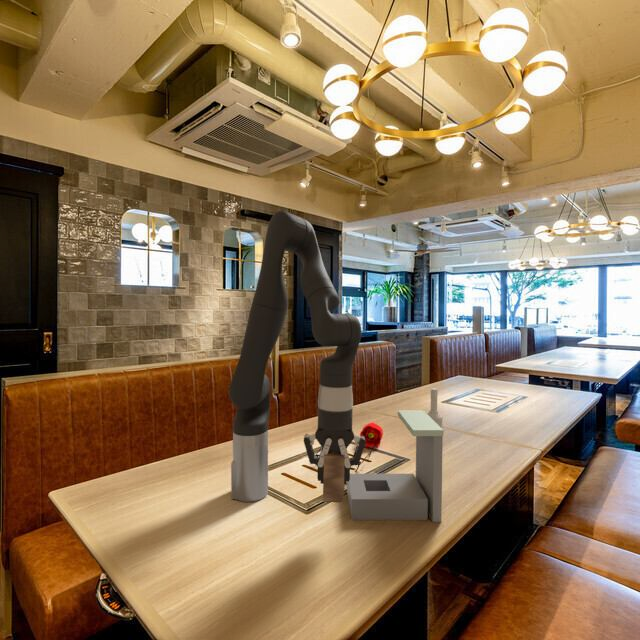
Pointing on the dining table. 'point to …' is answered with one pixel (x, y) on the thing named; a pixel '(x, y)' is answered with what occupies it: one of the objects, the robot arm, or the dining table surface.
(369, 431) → the flower
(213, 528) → the dining table surface
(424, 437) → the panel
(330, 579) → the dining table surface
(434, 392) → the bottle
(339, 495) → the peg
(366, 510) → the socket
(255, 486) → the robot arm
